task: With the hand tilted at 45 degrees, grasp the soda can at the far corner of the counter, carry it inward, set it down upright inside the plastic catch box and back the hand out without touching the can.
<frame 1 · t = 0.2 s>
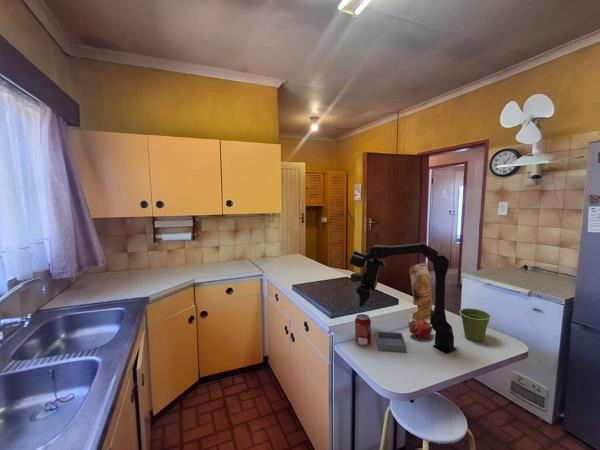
hand: (362, 302, 127), 15 cm above the countertop, tool tilted 15°, fingers open, 9 cm apart
catch box: (390, 344, 119), on the countertop
pancake mix bag: (421, 315, 147), on the countertop
soda can: (363, 343, 121), on the countertop
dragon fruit: (421, 336, 125), on the countertop
plant pot: (474, 338, 122), on the countertop
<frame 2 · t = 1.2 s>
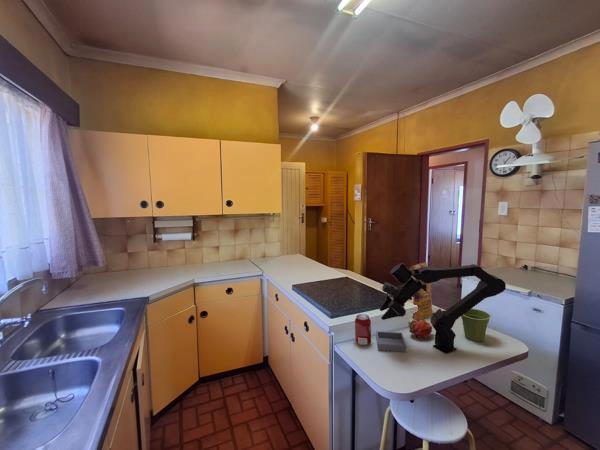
hand: (381, 314, 118), 13 cm above the countertop, tool tilted 45°, fingers open, 9 cm apart
nothing on the countertop moved.
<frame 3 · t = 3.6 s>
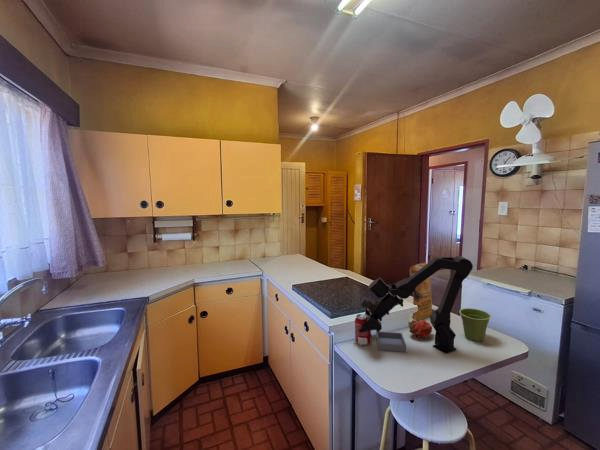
hand: (359, 328, 121), 7 cm above the countertop, tool tilted 45°, fingers closed on soda can, 6 cm apart
soda can: (363, 343, 121), on the countertop, touching gripper
everything else where it was.
when the fingers open (8 cm above the countertop, at t = 7.7 s): soda can stays where it is, resting on catch box.
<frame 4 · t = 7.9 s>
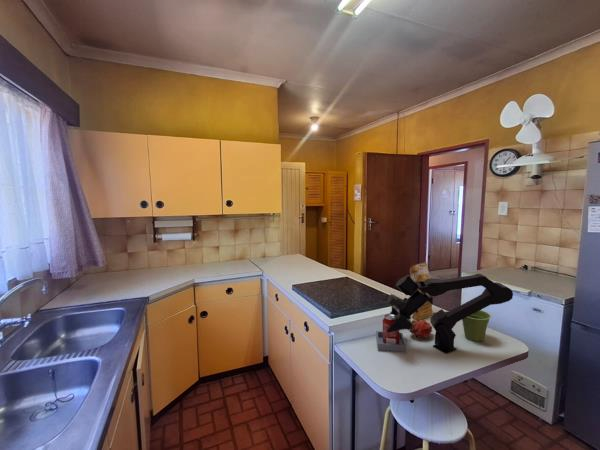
hand: (386, 326, 118), 8 cm above the countertop, tool tilted 45°, fingers open, 8 cm apart
soda can: (390, 344, 119), resting on catch box
everything else where it was.
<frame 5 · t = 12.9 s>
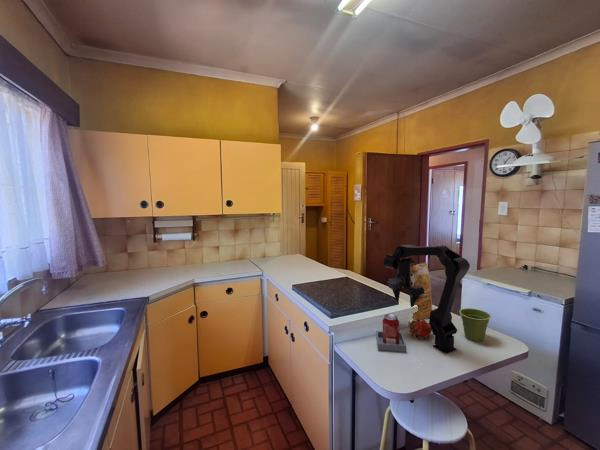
hand: (404, 303, 130), 13 cm above the countertop, tool pointing down, fingers open, 9 cm apart
nothing on the countertop moved.
at the end: soda can 0.2 cm from the catch box (horizontally); soda can tilted 0°; the gripper is holding nothing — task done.
